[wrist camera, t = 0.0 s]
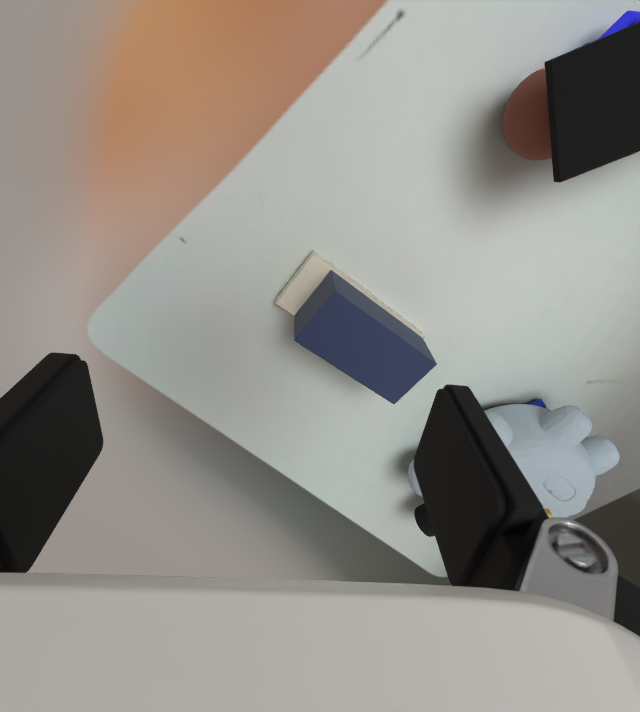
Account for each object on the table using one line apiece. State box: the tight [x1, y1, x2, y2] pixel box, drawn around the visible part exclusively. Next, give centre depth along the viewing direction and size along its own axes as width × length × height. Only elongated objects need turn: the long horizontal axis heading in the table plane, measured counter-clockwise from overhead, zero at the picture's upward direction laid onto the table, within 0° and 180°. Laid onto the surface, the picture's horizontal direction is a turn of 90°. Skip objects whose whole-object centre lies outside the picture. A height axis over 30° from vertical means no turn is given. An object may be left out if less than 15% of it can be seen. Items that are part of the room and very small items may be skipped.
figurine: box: [408, 399, 620, 537], centre depth 40 cm, size 17×8×20 cm
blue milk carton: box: [276, 251, 437, 404], centre depth 31 cm, size 12×5×6 cm, turn 52°
